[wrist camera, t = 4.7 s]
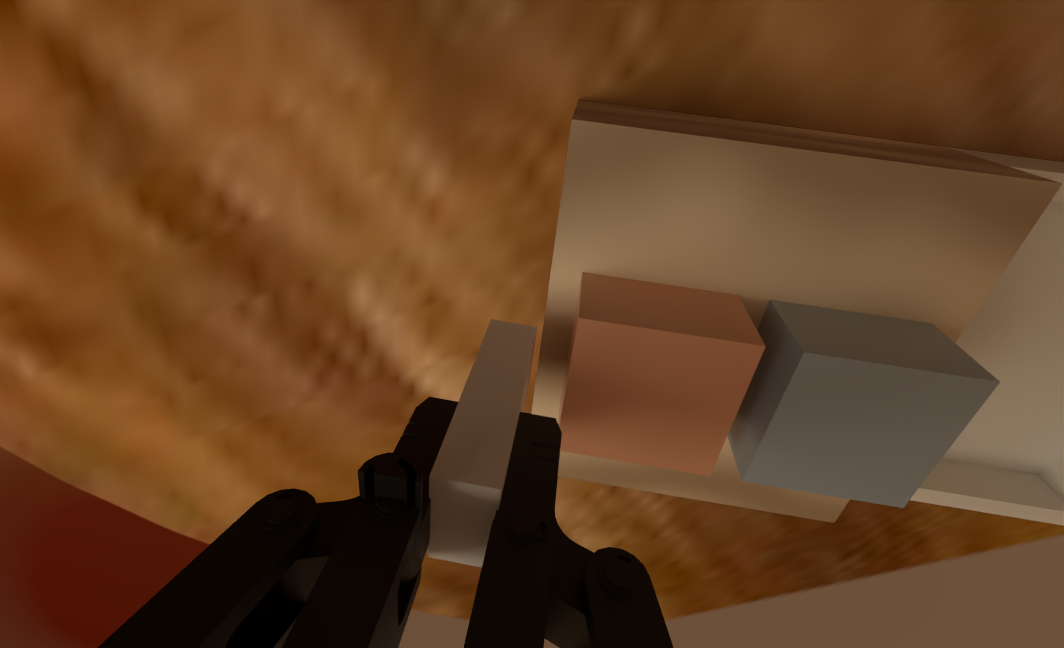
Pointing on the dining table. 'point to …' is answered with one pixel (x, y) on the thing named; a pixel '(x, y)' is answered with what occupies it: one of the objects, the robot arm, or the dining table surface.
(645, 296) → the salmon orange square block
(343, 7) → the dining table surface
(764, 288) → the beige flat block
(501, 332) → the robot arm
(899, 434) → the slate gray square block
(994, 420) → the tray
